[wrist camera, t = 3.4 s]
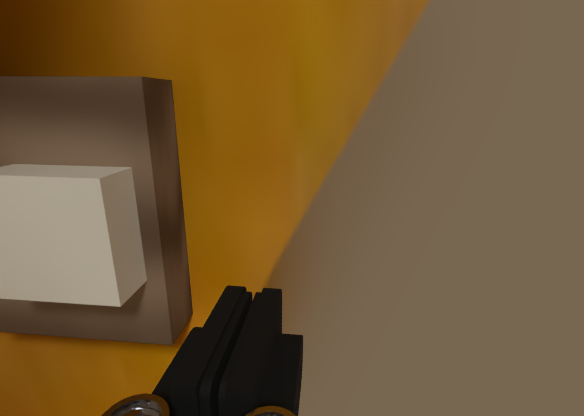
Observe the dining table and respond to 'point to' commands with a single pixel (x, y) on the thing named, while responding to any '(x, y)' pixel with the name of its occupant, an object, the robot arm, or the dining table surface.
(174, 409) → the robot arm
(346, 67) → the dining table surface
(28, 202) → the tile
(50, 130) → the brown sliding lid
